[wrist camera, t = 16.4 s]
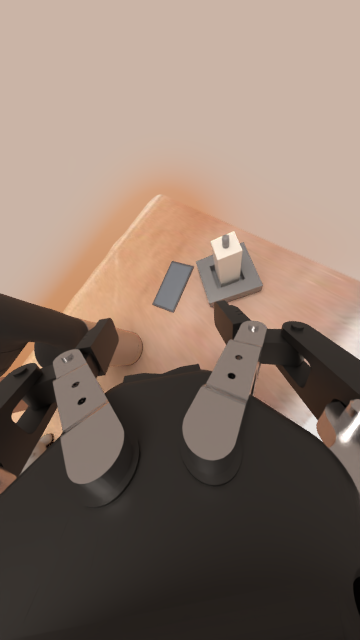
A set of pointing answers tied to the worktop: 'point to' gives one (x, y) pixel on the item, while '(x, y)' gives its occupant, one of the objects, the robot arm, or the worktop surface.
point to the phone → (173, 286)
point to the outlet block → (243, 287)
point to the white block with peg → (227, 258)
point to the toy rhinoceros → (38, 450)
